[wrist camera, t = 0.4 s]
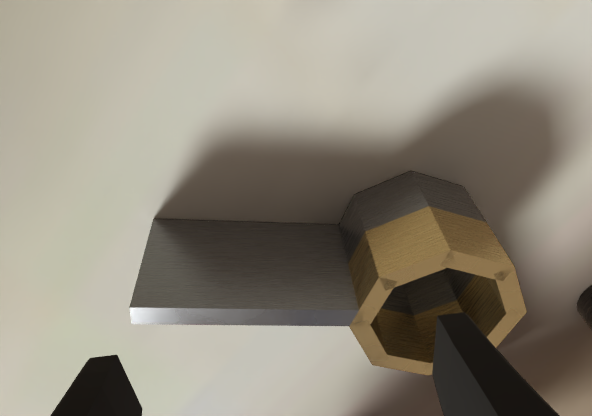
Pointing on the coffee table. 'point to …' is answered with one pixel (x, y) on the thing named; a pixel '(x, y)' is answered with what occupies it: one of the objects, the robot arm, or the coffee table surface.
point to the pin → (586, 306)
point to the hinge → (340, 272)
